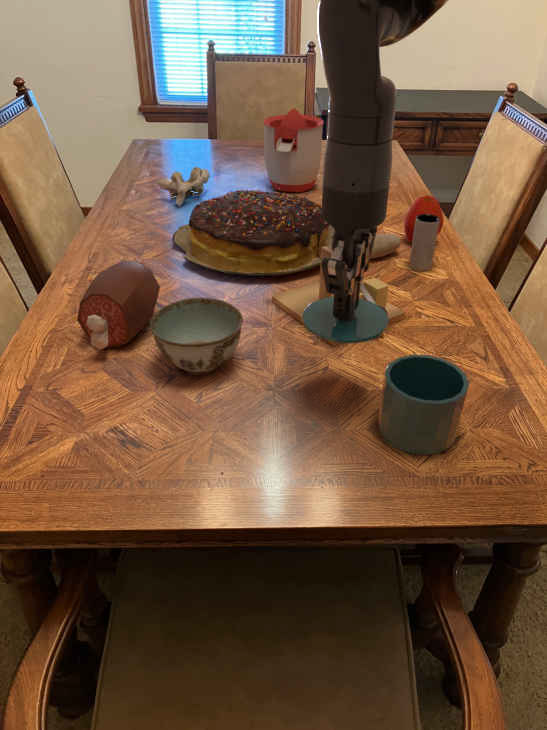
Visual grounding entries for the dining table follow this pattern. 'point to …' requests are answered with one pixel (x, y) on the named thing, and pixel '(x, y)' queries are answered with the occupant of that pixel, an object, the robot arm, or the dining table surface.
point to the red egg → (422, 207)
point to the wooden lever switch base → (318, 298)
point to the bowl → (197, 333)
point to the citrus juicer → (293, 150)
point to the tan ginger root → (185, 184)
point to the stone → (385, 245)
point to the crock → (422, 404)
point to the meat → (118, 303)
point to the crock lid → (358, 328)
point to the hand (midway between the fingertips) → (345, 311)
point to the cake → (255, 233)
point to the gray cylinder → (424, 242)
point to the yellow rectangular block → (377, 291)
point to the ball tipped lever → (368, 296)
